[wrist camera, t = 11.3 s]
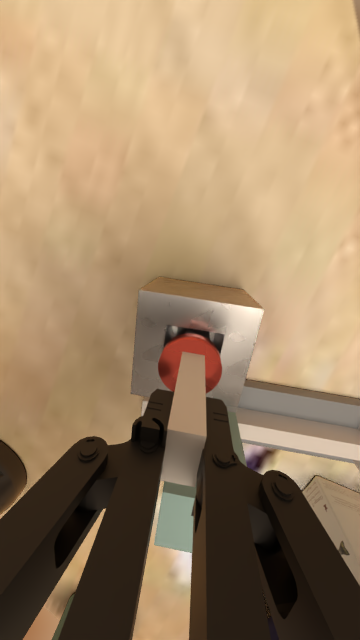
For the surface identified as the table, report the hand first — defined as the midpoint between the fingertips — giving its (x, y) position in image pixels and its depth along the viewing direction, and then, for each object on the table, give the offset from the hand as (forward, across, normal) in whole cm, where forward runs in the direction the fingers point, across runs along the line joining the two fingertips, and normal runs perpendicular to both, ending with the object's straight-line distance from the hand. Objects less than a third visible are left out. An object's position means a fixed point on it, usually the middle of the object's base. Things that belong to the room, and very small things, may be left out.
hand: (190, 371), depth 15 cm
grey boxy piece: (+10, 0, 0) cm, 10 cm away
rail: (+10, +9, -10) cm, 17 cm away
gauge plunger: (+8, 0, 0) cm, 8 cm away
